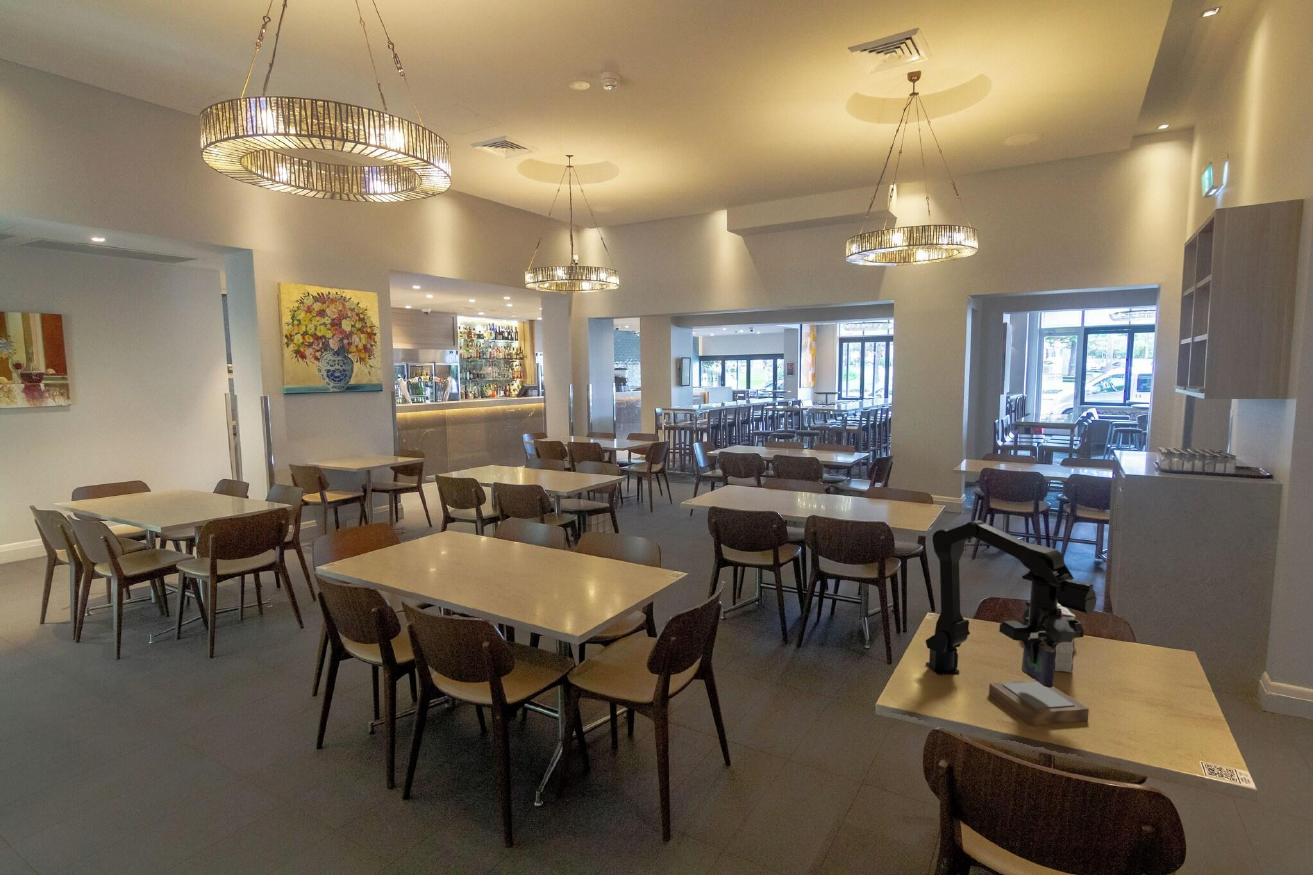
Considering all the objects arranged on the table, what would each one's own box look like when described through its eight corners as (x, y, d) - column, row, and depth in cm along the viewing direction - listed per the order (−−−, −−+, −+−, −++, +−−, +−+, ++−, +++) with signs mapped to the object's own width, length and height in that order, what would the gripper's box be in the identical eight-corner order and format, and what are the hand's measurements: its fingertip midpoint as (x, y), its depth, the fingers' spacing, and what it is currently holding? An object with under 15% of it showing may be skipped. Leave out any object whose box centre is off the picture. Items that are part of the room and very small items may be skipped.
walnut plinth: (1030, 725, 152) (1031, 711, 152) (988, 694, 167) (989, 681, 167) (1087, 720, 154) (1088, 707, 154) (1041, 690, 169) (1042, 678, 169)
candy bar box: (1038, 654, 191) (1041, 600, 190) (1057, 656, 190) (1060, 601, 189) (1053, 671, 180) (1057, 614, 179) (1073, 673, 179) (1077, 615, 178)
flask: (1018, 669, 165) (1022, 629, 163) (1029, 669, 165) (1033, 628, 164) (1045, 688, 156) (1050, 645, 154) (1056, 687, 156) (1061, 645, 155)
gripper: (1032, 614, 149) (1027, 680, 150) (1105, 611, 152) (1099, 675, 153) (1000, 598, 160) (995, 659, 161) (1068, 595, 163) (1063, 655, 164)
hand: (1038, 662), depth 160 cm, fingers closed on flask, 3 cm apart
